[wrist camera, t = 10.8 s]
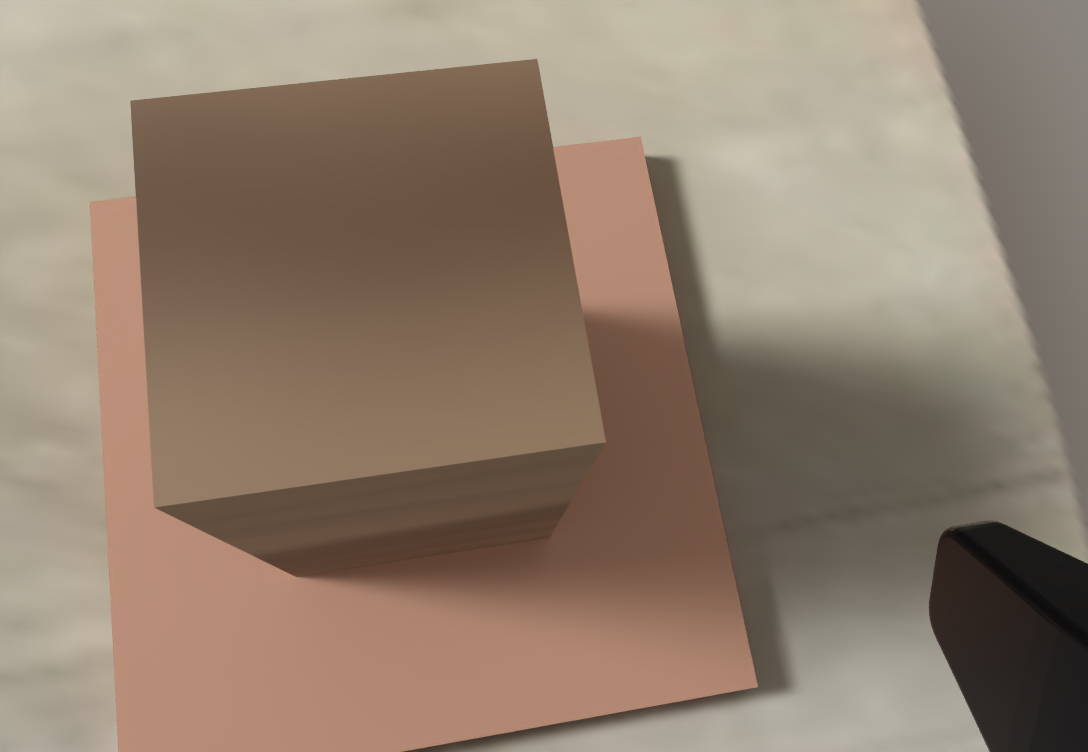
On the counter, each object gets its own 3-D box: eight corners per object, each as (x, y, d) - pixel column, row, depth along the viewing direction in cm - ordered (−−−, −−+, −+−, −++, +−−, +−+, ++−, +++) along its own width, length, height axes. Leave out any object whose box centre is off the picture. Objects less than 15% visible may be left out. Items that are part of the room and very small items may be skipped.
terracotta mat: (746, 686, 20) (757, 686, 20) (135, 797, 19) (121, 802, 18) (635, 154, 23) (640, 136, 23) (103, 218, 22) (89, 202, 21)
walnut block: (549, 537, 20) (606, 442, 11) (295, 577, 20) (154, 507, 11) (511, 303, 21) (536, 59, 13) (272, 333, 21) (131, 100, 12)
